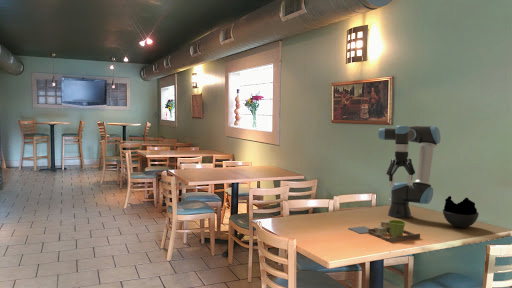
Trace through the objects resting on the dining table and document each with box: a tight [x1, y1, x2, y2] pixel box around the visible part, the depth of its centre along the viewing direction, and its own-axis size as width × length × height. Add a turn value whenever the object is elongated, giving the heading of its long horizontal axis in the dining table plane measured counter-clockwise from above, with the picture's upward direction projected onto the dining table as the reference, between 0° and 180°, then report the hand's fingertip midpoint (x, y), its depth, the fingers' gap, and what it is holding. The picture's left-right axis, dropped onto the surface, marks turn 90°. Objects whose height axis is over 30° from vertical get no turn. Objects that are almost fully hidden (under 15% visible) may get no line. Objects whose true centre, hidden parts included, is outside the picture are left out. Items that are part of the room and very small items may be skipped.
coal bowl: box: [442, 195, 480, 229], centre depth 253 cm, size 20×20×19 cm
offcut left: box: [373, 225, 388, 236], centre depth 238 cm, size 4×6×4 cm, turn 112°
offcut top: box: [380, 220, 390, 228], centre depth 239 cm, size 4×5×3 cm
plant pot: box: [388, 219, 407, 237], centre depth 232 cm, size 9×9×9 cm
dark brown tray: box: [367, 227, 421, 243], centre depth 234 cm, size 19×21×2 cm
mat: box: [348, 225, 371, 235], centre depth 245 cm, size 12×12×1 cm
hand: (400, 186), depth 246 cm, fingers open, 13 cm apart
